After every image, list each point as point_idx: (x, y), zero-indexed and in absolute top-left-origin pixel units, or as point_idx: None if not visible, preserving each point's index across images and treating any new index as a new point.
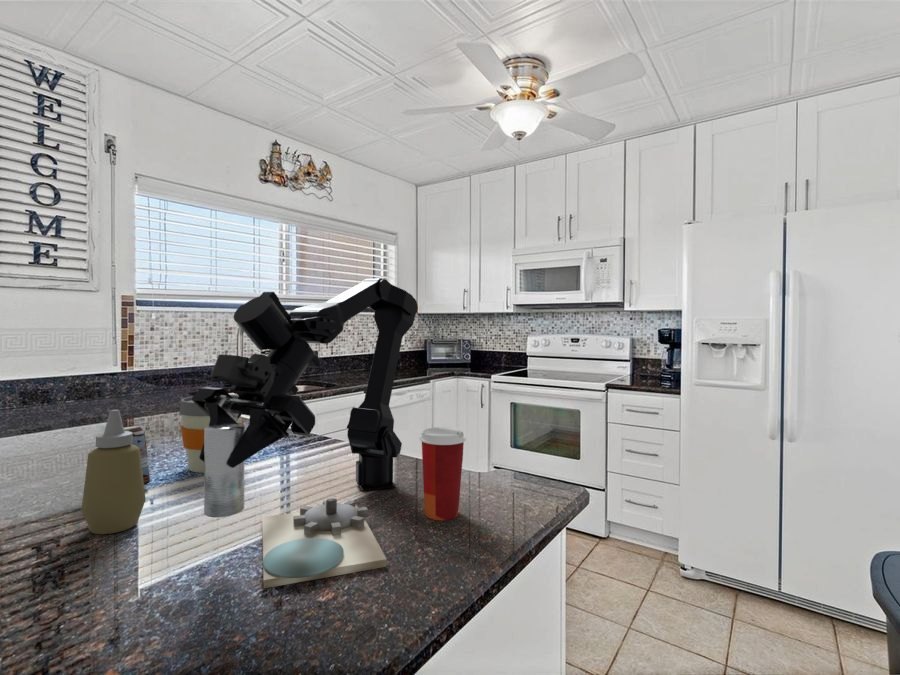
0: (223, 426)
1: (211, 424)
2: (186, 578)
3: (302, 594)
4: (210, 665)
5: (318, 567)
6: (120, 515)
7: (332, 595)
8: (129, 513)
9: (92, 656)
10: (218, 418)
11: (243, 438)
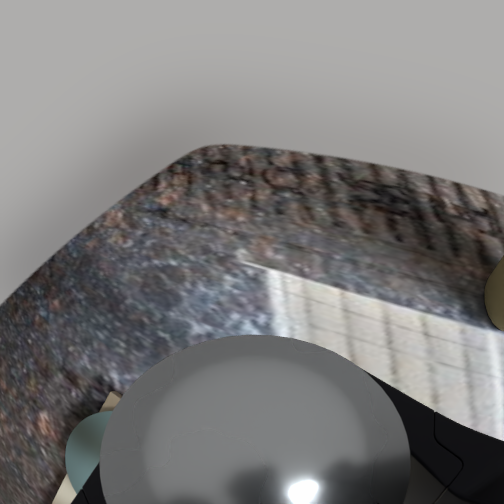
0: (300, 496)
1: (472, 448)
2: (243, 330)
3: (66, 410)
4: (46, 263)
5: (74, 456)
6: (496, 291)
7: (40, 428)
8: (499, 306)
9: (152, 191)
10: (467, 501)
11: (102, 495)
